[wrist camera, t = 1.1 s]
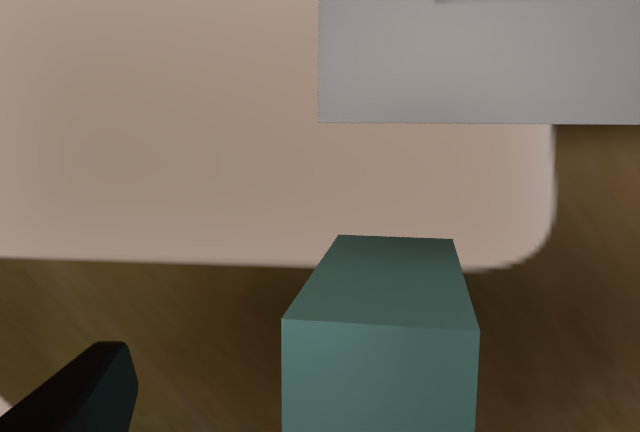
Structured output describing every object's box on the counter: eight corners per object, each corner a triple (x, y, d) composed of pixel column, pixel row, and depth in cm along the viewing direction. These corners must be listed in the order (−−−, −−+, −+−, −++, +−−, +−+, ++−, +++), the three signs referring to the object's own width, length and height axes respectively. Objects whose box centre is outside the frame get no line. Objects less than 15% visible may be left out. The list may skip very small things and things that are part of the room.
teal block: (447, 347, 21) (470, 514, 12) (337, 340, 21) (282, 493, 13) (452, 238, 20) (480, 331, 11) (338, 234, 21) (280, 318, 12)
